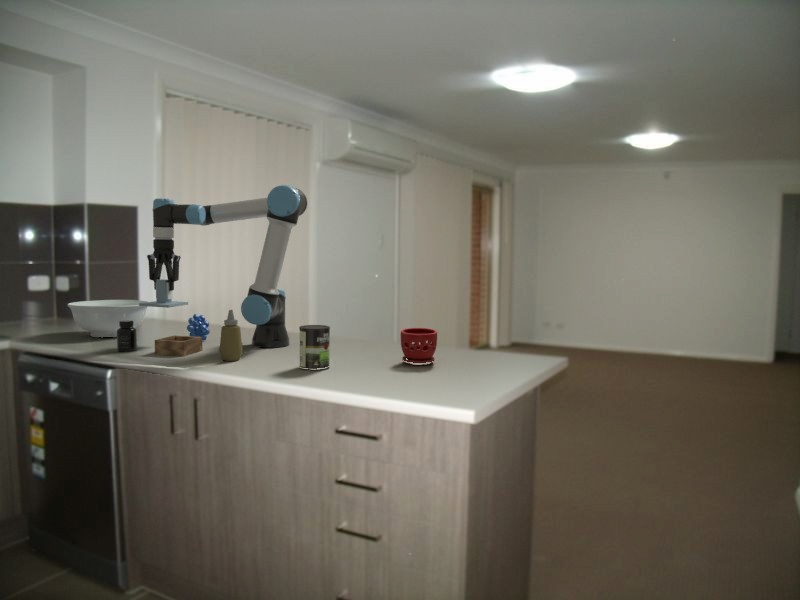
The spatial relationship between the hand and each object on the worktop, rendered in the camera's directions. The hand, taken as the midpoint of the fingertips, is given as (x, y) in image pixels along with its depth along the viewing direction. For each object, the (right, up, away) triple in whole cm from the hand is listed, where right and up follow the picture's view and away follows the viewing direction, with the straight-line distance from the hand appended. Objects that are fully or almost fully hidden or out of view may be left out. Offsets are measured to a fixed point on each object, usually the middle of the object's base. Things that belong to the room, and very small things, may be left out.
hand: (164, 298), depth 242 cm
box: (+11, -21, -13) cm, 27 cm away
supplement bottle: (-10, -20, -11) cm, 25 cm away
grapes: (+9, -18, +15) cm, 25 cm away
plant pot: (+99, -23, -22) cm, 104 cm away
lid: (0, -3, 0) cm, 3 cm away
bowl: (-35, -16, +29) cm, 48 cm away
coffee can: (+63, -24, -32) cm, 75 cm away
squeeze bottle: (+32, -22, -22) cm, 45 cm away
